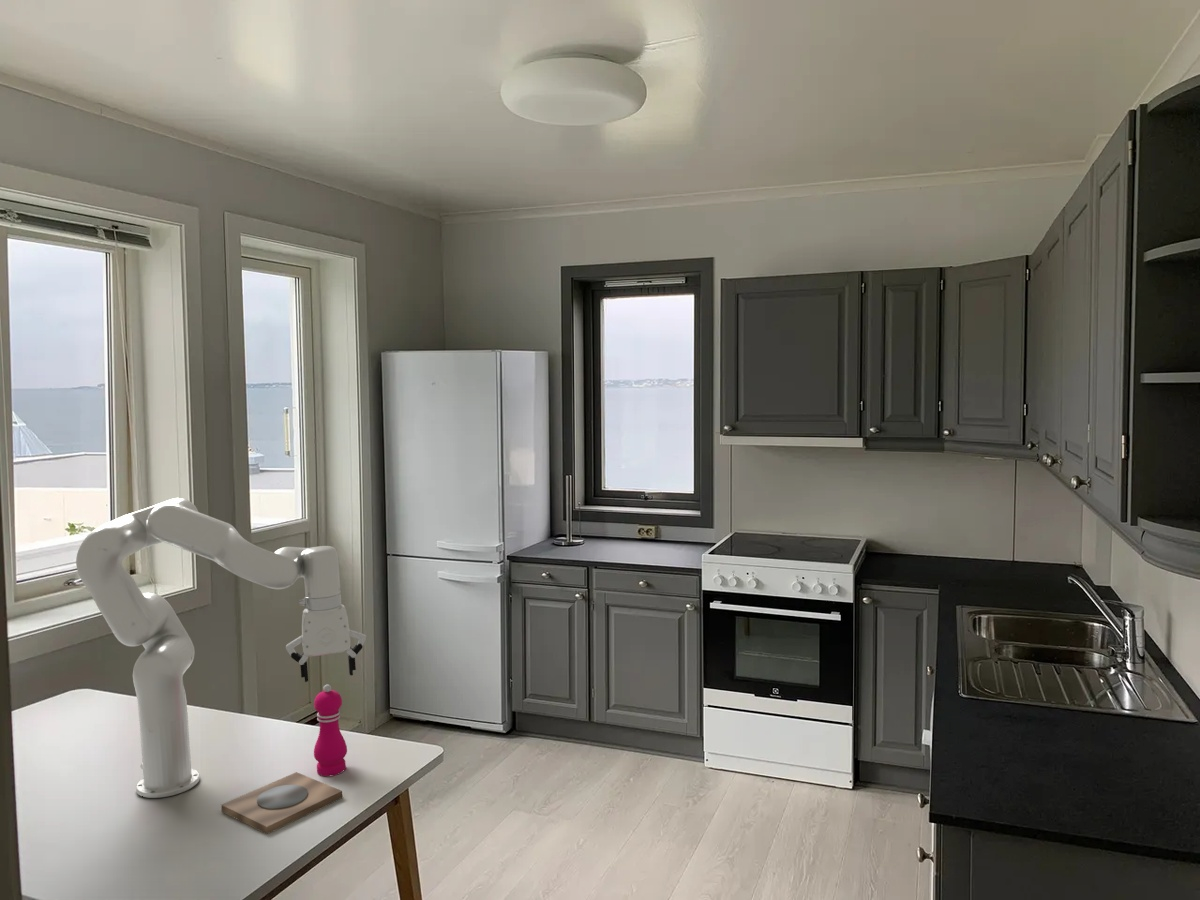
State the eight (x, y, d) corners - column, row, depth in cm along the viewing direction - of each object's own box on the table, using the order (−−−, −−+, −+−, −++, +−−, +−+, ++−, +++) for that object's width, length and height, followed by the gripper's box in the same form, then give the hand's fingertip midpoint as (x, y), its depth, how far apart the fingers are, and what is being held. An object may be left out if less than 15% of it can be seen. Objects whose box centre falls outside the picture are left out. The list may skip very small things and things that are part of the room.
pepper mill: (338, 778, 200) (334, 691, 198) (308, 776, 201) (304, 689, 199) (353, 764, 207) (349, 679, 205) (324, 762, 208) (320, 678, 206)
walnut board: (221, 811, 186) (221, 802, 185) (296, 778, 200) (296, 770, 200) (267, 834, 176) (266, 824, 176) (342, 797, 191) (342, 789, 190)
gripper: (282, 611, 194) (288, 688, 196) (364, 601, 200) (369, 676, 201) (282, 603, 201) (288, 677, 203) (362, 593, 207) (367, 666, 208)
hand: (328, 676), depth 202 cm, fingers open, 9 cm apart
